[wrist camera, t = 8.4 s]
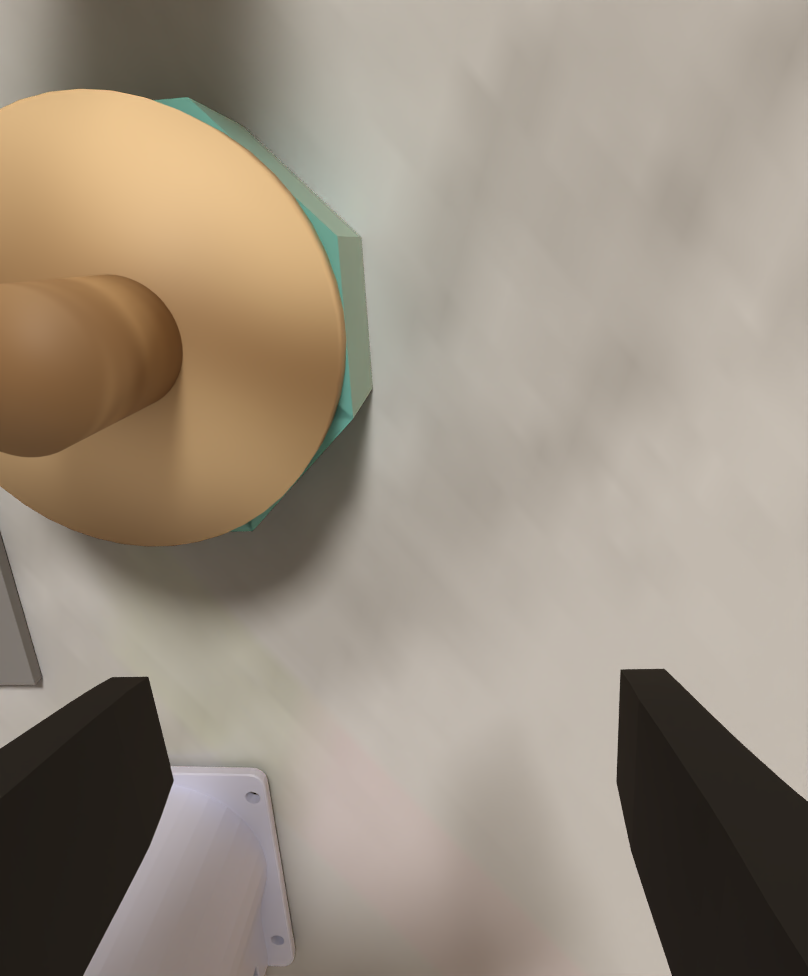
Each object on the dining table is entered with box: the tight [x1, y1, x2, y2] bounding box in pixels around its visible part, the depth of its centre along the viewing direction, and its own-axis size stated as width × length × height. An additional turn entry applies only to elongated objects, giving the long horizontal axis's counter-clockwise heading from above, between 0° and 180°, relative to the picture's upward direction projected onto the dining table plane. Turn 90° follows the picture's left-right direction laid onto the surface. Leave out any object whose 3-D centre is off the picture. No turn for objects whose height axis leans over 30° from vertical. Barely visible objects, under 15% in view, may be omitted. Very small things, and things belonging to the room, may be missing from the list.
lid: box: [0, 89, 346, 546], centre depth 13 cm, size 9×9×4 cm
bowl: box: [153, 97, 373, 532], centre depth 17 cm, size 9×9×3 cm
